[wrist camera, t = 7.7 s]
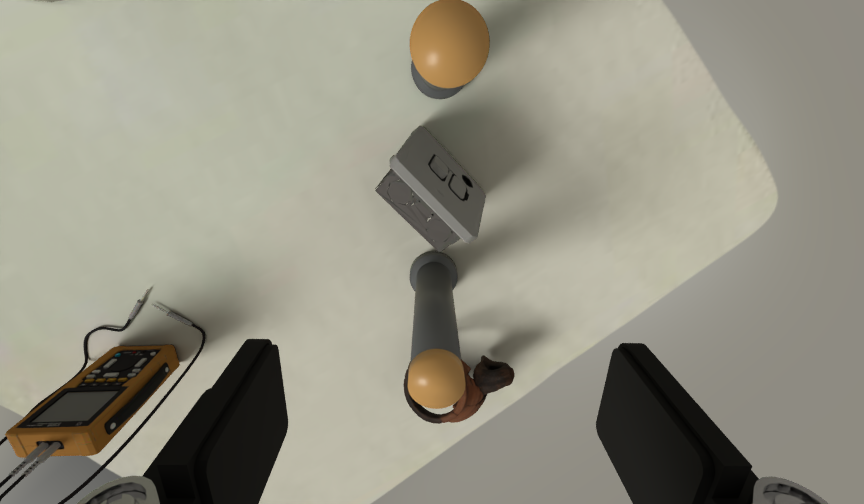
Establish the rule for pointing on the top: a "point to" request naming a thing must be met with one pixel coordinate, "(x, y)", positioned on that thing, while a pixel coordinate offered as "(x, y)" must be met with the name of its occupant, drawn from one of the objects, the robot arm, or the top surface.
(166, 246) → the top surface
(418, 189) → the electrical switch
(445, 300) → the post far
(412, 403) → the brown curved hollow piece
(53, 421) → the multimeter
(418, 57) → the post near
